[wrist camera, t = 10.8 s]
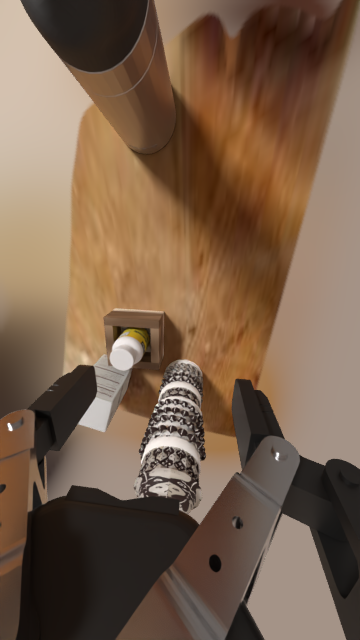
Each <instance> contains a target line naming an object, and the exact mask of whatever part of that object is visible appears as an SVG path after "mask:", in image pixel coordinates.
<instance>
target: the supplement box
mask: <svg viewBox="0 0 360 640" xmlns="http://www.w3.org/2000/svg"><path fill="white" fill-rule="evenodd" d="M94 368H95V374H96V382H97V394H96V397H95V399H94V401H93V402H92V404H91V405H90V407H89V408H88V410H87V411H86V413H85V414H84V415H83V417H82V418H81V420H80V421H79V423H78V424H80V425H83V426H86V427H89V428H92V429H96V430H99V431H103V432H106V430H107V428H108V426H109V424H110V422H111V420H112V418H113V416H114V414H115V412H116V410H117V408H118V406H119V404H120V402H121V400H122V399H123V397H124V395H125V393H126V391H127V389H128V384H129V379H130V376H131V372H132V369H133V368H130V369H128V370H125V371H122V370H118V369H116V368H115V367H114V366H108V358H107V355H105V354H103V355H102V357H101V358H100V359H99V360H98V361H97V362H96V363H95V365H94Z"/></svg>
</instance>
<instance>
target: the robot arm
mask: <svg viewBox="0 0 360 640" xmlns="http://www.w3.org/2000/svg"><path fill="white" fill-rule="evenodd" d="M21 2H22V4H23V6H24V9H25V10H26V12H27V14H28V16H29V17H30V19H31V20H32V22H33V23H34V25H35V26H36V28H37V29H38V31H39V32H40V33H41V35H42V36H43V37H44V39H45V40H46V41H47V43H48V44H49V45H50V46H51V48H52V49H53V50H54V51H55V53H56V54H57V55H58V56H59V58H60V59H61V60H62V62H63V63H64V64H65V65H66V67H67V68H68V69H69V71H70V72H71V73H72V74H73V76H74V77H75V78H76V80H77V81H78V82H79V83H80V85H81V86H82V87H83V89H84V90H85V91H86V93H87V94H88V95H89V97H90V98H91V99H92V100H93V102H94V103H95V104H96V106H97V107H98V108H99V110H100V111H101V112H102V113H103V115H104V116H105V117H106V119H107V120H108V121H109V123H110V124H111V125H112V127H113V128H114V129H115V131H116V132H117V133H118V134H119V136H120V137H121V138H122V140H123V141H124V142H125V143H126V144H127V145H128V147H130V148H131V149H132V150H134V151H136V152H138V153H142V154H151V153H154V152H157V151H159V150H160V149H162V148H163V147H164V146H165V145H166V144H167V143H168V141H169V140H170V138H171V136H172V134H173V131H174V128H175V122H176V109H175V103H174V98H173V93H172V87H171V82H170V77H169V72H168V67H167V62H166V57H165V52H164V47H163V42H162V37H161V32H160V27H159V22H158V17H157V12H156V7H155V3H154V0H21ZM96 394H97V382H96V374H95V368H94V366H89V365H78V366H77V367H76V368H75V369H74V370H73V371H72V372H71V373H67V374H66V375H64V376H62V377H61V378H59V379H58V380H57V381H56V382H55V383H54V384H53V386H51V387H50V388H49V389H48V390H47V391H45V392H44V393H43V394H42V395H41V396H40V397H39V398H38V399H37V400H36V401H35V402H34V403H33V404H32V405H31V406H30V407H29V408H28V409H26V410H19V411H15V412H12V413H10V414H8V415H6V416H5V417H3V418H2V419H1V420H0V640H264V638H263V636H262V634H261V632H260V630H259V629H258V627H257V625H256V623H255V621H254V619H253V617H252V616H251V614H250V612H249V610H248V608H247V604H248V602H249V599H250V597H251V594H252V592H253V589H254V587H255V584H256V582H257V579H258V576H259V574H260V571H261V568H262V565H263V562H264V560H265V557H266V555H267V552H268V550H269V547H270V545H271V542H272V540H273V537H274V534H275V532H276V530H277V527H278V524H279V522H280V519H281V517H282V514H285V515H287V516H289V517H291V518H293V519H296V520H298V521H300V522H302V523H304V524H306V525H308V526H309V527H310V530H311V533H312V536H313V539H314V542H315V545H316V548H317V551H318V554H319V557H320V561H321V564H322V567H323V570H324V573H325V576H326V579H327V582H328V585H329V588H330V591H331V594H332V597H333V600H334V603H335V606H336V609H337V612H338V615H339V619H340V622H341V625H342V628H343V631H344V634H345V637H346V639H347V640H360V469H358V468H357V467H356V466H354V465H352V464H351V463H348V462H346V461H343V460H340V459H331V460H329V461H328V462H327V463H326V465H325V466H324V465H321V464H319V463H316V462H314V461H311V460H308V459H306V458H304V457H302V456H300V455H299V453H298V451H297V450H296V448H295V447H294V446H293V445H292V444H291V443H289V442H288V441H287V440H285V438H284V436H283V434H282V431H281V429H280V427H279V424H278V422H277V420H276V417H275V415H274V414H273V410H272V408H271V405H270V403H269V400H268V398H267V397H266V396H265V395H264V394H263V393H262V392H261V391H260V390H254V388H253V386H252V383H251V380H245V379H236V380H235V385H234V392H233V399H232V415H233V421H234V427H235V432H236V438H237V444H238V449H239V455H240V461H241V466H242V472H241V473H240V474H239V473H238V472H237V473H235V474H234V476H233V477H232V478H231V479H230V481H229V482H228V484H227V485H226V487H225V488H224V490H223V491H222V493H221V494H220V496H219V497H218V498H217V500H216V501H215V503H214V505H213V506H212V507H211V509H210V510H209V512H208V513H207V515H206V516H205V518H204V519H203V521H202V522H201V523H200V525H199V524H198V523H197V522H196V521H195V520H194V519H193V518H192V517H191V516H189V515H188V514H186V513H185V512H183V511H181V510H179V506H180V500H178V499H171V498H164V497H156V496H150V497H143V498H137V499H131V500H119V499H117V498H115V497H113V496H111V495H109V494H107V493H105V492H103V491H101V490H99V489H96V488H88V487H81V486H74V485H72V486H71V488H70V490H69V492H68V494H67V496H62V497H59V498H56V499H53V500H51V501H48V500H47V475H46V457H45V455H46V453H47V452H48V451H49V450H54V451H60V449H61V447H62V446H63V445H64V443H65V442H66V440H67V439H68V437H69V436H70V434H71V433H72V431H73V430H74V429H75V427H76V426H77V424H78V423H79V421H80V420H81V418H82V417H83V415H84V414H85V413H86V411H87V410H88V408H89V407H90V405H91V404H92V402H93V401H94V399H95V397H96Z"/></svg>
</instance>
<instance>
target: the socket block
mask: <svg viewBox="0 0 360 640" xmlns="http://www.w3.org/2000/svg"><path fill="white" fill-rule="evenodd" d="M104 327H105V337H106V348H107V358H108V366H113V365H112V364H111V362H110V354H111V352H112V347H113V344H114V343H115V341H116V340H117V339H118V338H119V337H120V336H121V334H122V333H123V332H124V331H125V330H126V329H127V328H128V327H138V328H147V329H148V330H149V332H150V334H151V341H150V344H149V345H148V347H147V349H146V351H145V353H144V355H143V357H142V358H141V360H140V361H139V362H138V363H136V364H134V365H133V366H132V367H131V368H140V369H152V370H159V368H160V365H161V362H162V359H163V356H164V311H148V310H132V309H116V308H115V309H114V310H113V311H111V312H110V313H109V314H107V315H106V316H105V317H104Z"/></svg>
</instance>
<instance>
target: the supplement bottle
mask: <svg viewBox="0 0 360 640" xmlns="http://www.w3.org/2000/svg"><path fill="white" fill-rule="evenodd" d="M150 341H151V334H150V332H149V330H148V329H147V328H138V327H128V328H127V329H126V330H125V331H124V332H123V333H122V334H121V336H120V337H119V338H118V339H117V340H116V341H115V343H114V344H113V347H112V352H111V354H110V362H111V364H112V365H113V366H114V367H115V368H116V369H118V370H122V371H125V370H128V369H130V368H131V367H132V366H133V365H134V364H136V363H138V362H139V361H140V360H141V358H142V357H143V355H144V353H145V351H146V349H147V347H148V345H149V344H150Z"/></svg>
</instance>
